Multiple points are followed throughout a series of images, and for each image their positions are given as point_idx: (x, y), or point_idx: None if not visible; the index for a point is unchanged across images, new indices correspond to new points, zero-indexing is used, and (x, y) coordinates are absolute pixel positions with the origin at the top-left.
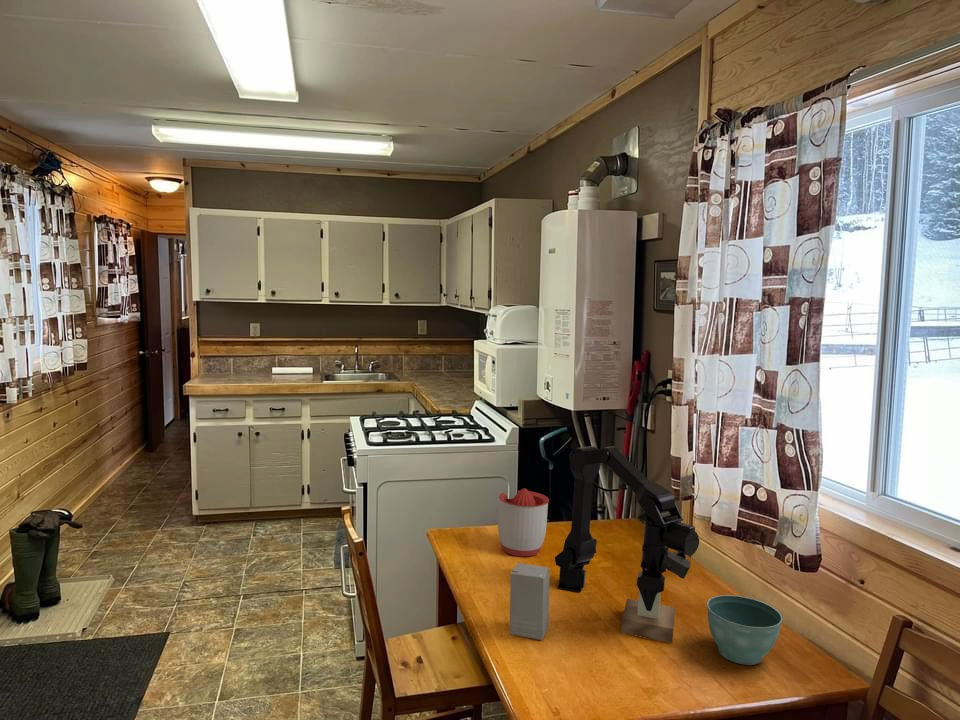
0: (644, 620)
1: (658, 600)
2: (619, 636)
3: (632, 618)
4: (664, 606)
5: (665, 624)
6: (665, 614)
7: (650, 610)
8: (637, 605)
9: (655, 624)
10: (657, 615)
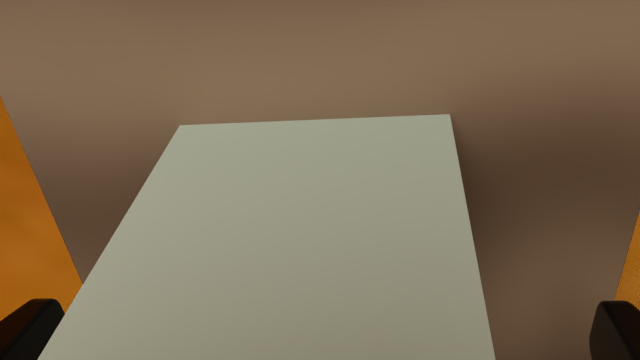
0: (547, 244)
1: (481, 329)
2: (615, 300)
3: (538, 337)
4: (19, 74)
5: (585, 4)
6: (254, 38)
7: (637, 314)
8: None
9: (625, 129)
10: (455, 150)
